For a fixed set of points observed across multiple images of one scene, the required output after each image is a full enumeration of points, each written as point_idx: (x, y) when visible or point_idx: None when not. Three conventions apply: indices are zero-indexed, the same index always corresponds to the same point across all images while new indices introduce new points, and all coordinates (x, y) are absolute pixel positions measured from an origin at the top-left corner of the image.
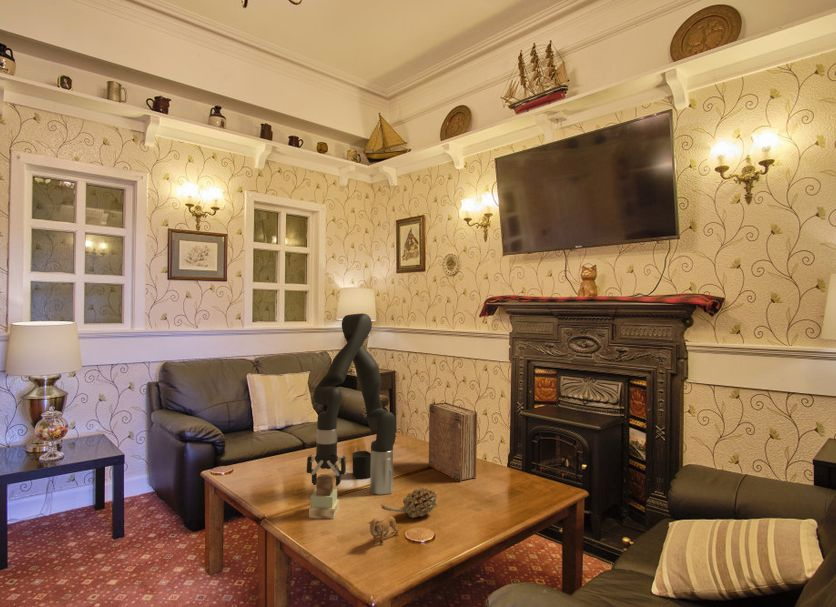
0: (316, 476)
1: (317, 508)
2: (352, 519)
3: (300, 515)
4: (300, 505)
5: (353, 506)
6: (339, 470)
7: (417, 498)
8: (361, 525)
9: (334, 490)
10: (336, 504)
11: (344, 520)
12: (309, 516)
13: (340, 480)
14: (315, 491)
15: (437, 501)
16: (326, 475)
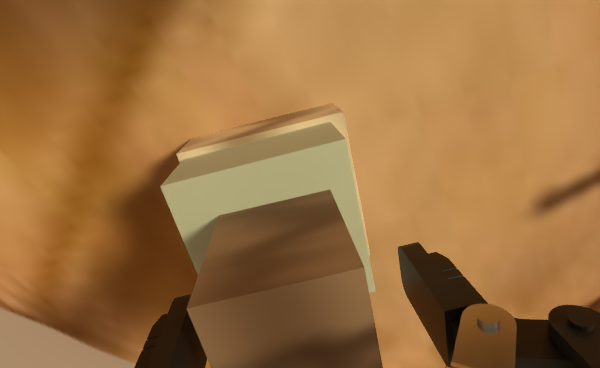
0: (179, 354)
1: None
2: (448, 201)
3: (176, 249)
4: (80, 135)
5: (405, 34)
6: (515, 360)
7: None
8: (505, 242)
9: (337, 176)
10: (357, 190)
11: (413, 224)
12: None
13: (456, 269)
14: (199, 247)
15: None
16: (291, 317)
